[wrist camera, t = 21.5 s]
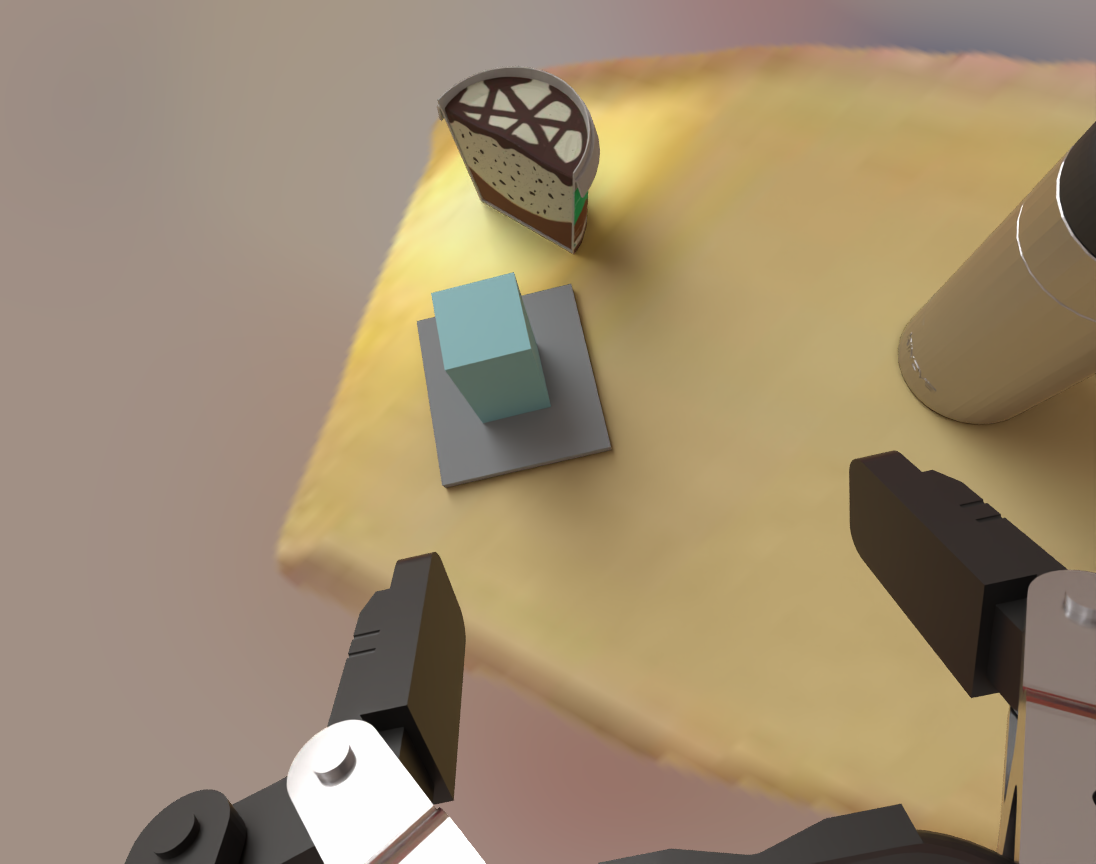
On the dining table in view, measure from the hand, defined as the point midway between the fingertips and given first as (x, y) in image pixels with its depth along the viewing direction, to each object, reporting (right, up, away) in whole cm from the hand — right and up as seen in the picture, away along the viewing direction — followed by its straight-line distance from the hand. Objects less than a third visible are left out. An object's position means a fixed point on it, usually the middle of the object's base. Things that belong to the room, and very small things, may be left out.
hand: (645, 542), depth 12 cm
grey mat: (-5, +6, +35) cm, 35 cm away
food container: (-2, +21, +39) cm, 44 cm away
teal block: (-5, +6, +34) cm, 34 cm away
